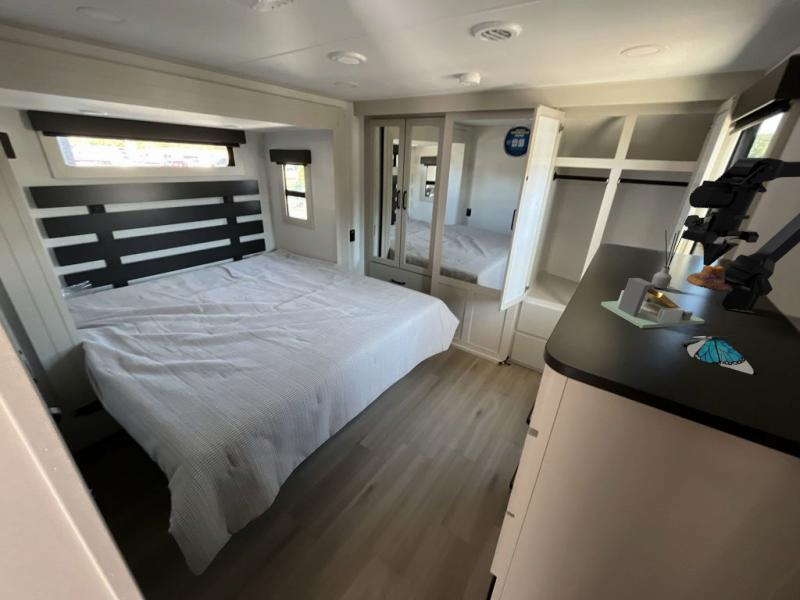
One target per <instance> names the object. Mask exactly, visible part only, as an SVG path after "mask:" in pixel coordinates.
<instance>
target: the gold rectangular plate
mask: <svg viewBox="0 0 800 600" xmlns="http://www.w3.org/2000/svg"><path fill="white" fill-rule="evenodd" d="M645 297H646V298H647V299H649V301H651V302H653V303H655V304H658V305H660V306H662V307H664V308H681V307H680V306H679V305H678V304H676V303H675V302H674V301H672V299H670V298H669V297H667V296H666V295H665V294H664V293H662V292H659V291H657V290H655V289H654V288H650V289H648V291H647V293H646V296H645ZM684 312H686V311H685V310H684ZM684 312H683V314H684ZM683 314H682V316H683Z"/></svg>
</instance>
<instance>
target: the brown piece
mask: <svg viewBox="0 0 800 600" xmlns="http://www.w3.org/2000/svg"><path fill="white" fill-rule="evenodd" d="M724 269H725V268H724V267H723V266H721V265H718V264H717V265H716V264H715V265H714V266H712V265H710V266H705V265H703V267H702V269H701V271H699V272H694V273H691V274H689V275H687V277H686V281H687V282H688V283H689V284H692V285H694V286H696V287H699V288H703V287H704V289H707V288H708V290H711V289H717V290H716V291H720V290H724V289H727V288H728V286H730V285H727V284H724V280H725V276H723V275H722V273H723V272H724Z"/></svg>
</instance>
